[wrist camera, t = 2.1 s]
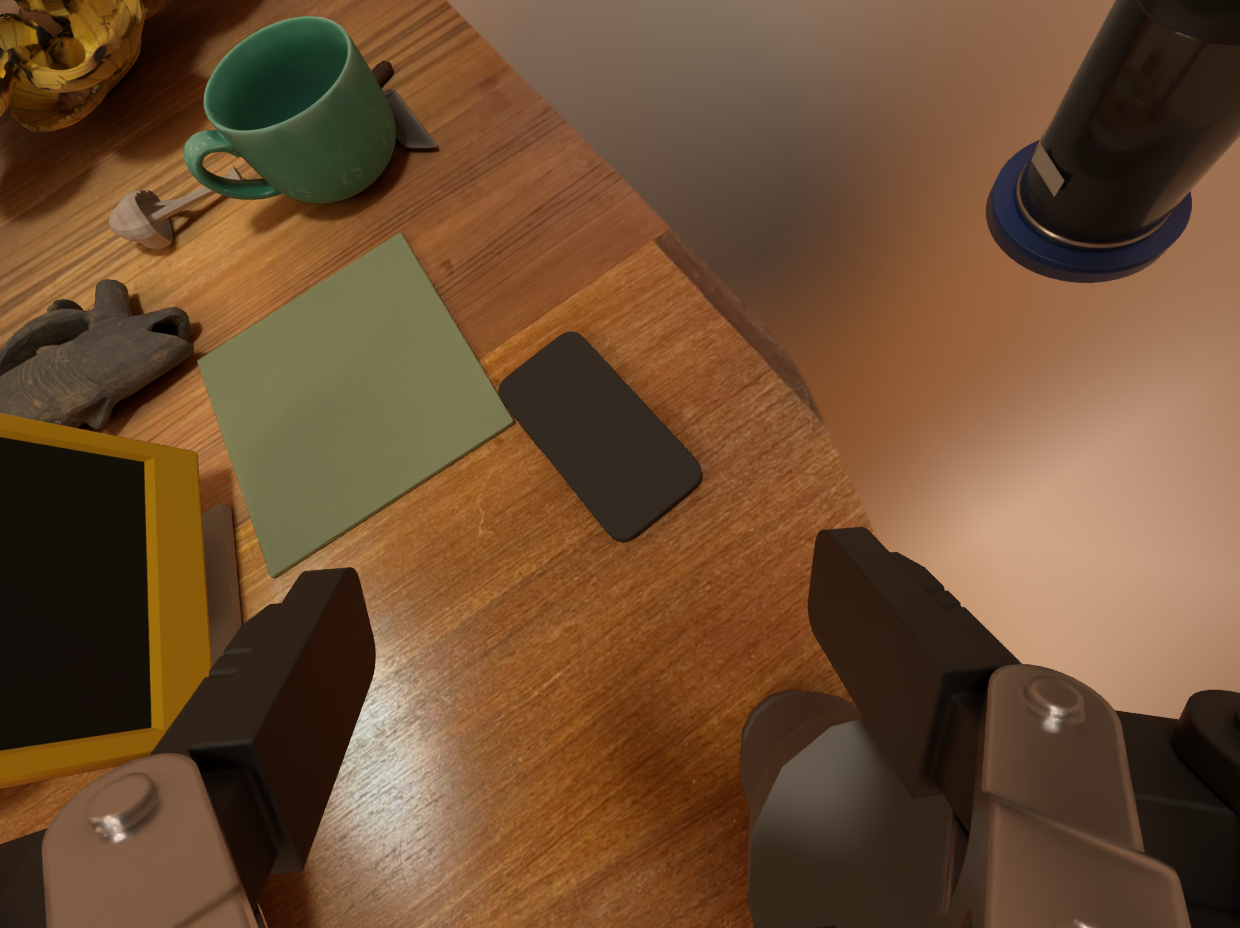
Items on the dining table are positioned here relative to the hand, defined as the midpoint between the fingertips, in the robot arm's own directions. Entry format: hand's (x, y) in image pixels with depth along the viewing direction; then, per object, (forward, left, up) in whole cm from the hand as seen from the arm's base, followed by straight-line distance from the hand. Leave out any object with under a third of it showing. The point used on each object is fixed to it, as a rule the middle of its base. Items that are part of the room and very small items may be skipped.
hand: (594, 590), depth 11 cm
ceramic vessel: (+33, -47, -27) cm, 64 cm away
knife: (-4, -55, -27) cm, 61 cm away
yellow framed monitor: (+28, -21, -27) cm, 44 cm away
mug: (+5, -52, -27) cm, 59 cm away
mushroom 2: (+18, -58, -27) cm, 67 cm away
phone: (-2, -16, -27) cm, 31 cm away
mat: (+12, -31, -27) cm, 42 cm away
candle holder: (-2, +7, -27) cm, 28 cm away
